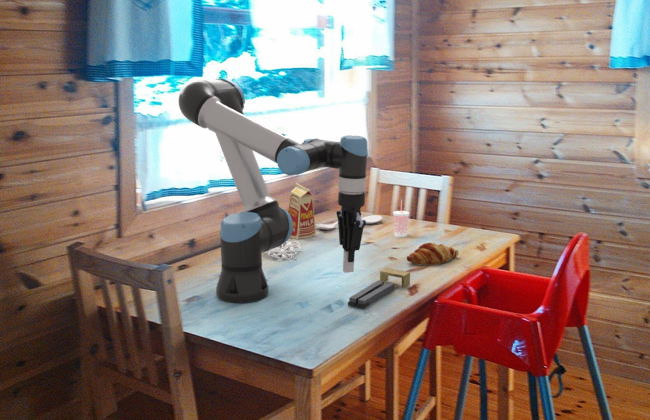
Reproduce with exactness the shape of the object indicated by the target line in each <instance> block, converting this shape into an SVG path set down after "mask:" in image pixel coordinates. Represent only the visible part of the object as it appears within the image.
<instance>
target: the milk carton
mask: <svg viewBox="0 0 650 420" xmlns="http://www.w3.org/2000/svg"><path fill="white" fill-rule="evenodd" d="M310 191H311V190H310V189H309V188H307V187H304V186H302V185H301V184H299V183H298V182H295V187H294V188H293V189H292V190H291V191H290V196H289V201H288V207H287V212H288V213H289V214H290V216H291V218H292V222H293V230H292V234H291V236H290V238H291V239H297V240H299V239H307V238H311V237H314V236H315V235H316V227H315V223H316V220H315V209H314V200H313V195H312V193H311V192H310Z"/></svg>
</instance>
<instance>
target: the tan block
mask: <svg viewBox="0 0 650 420" xmlns="http://www.w3.org/2000/svg"><path fill="white" fill-rule="evenodd" d="M389 276H391V277H395V278H401V288H402V289H405V288H406V287H408V286H410V285H411V284H410V283H411V271H406V270H405V271H404V270H399V269H394V268H389V267H385V268H383V269H381V270H379V280H380V281H384V283H386V282H389Z"/></svg>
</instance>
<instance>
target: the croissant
mask: <svg viewBox="0 0 650 420" xmlns="http://www.w3.org/2000/svg"><path fill="white" fill-rule="evenodd" d="M459 252H460V251H459V250H458V249H455V248H454V247H451V246H450V247H449V246H446V245H444V244H441V243H440V244H436V243H435V242H424V243H423V244H421V245H419V247H418V248H417V249H415V250H414V251H413V252H411V253H410V254H409V255H407V256H406V261H407V262H409V263H411V264H414V265H415V264H417V265H418V266H419V265H421V266H425V265H427V266H428V265H429V266H434V265H439V264H440V265H441V264H444V263H446V262H449V261H451V260H452V259H455V258H457V257H458V255H459Z"/></svg>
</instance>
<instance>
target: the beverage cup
mask: <svg viewBox="0 0 650 420" xmlns="http://www.w3.org/2000/svg"><path fill="white" fill-rule="evenodd" d="M392 214H393V224H394V225H393V228H394V230H393V232H394V233H393V234H394V236H395V237H398V238H405V237H407V236H408V235H407V234H408V223H409V215H410V212H409V211H406V210H403V199H400V210H395V211H393V212H392Z"/></svg>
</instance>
